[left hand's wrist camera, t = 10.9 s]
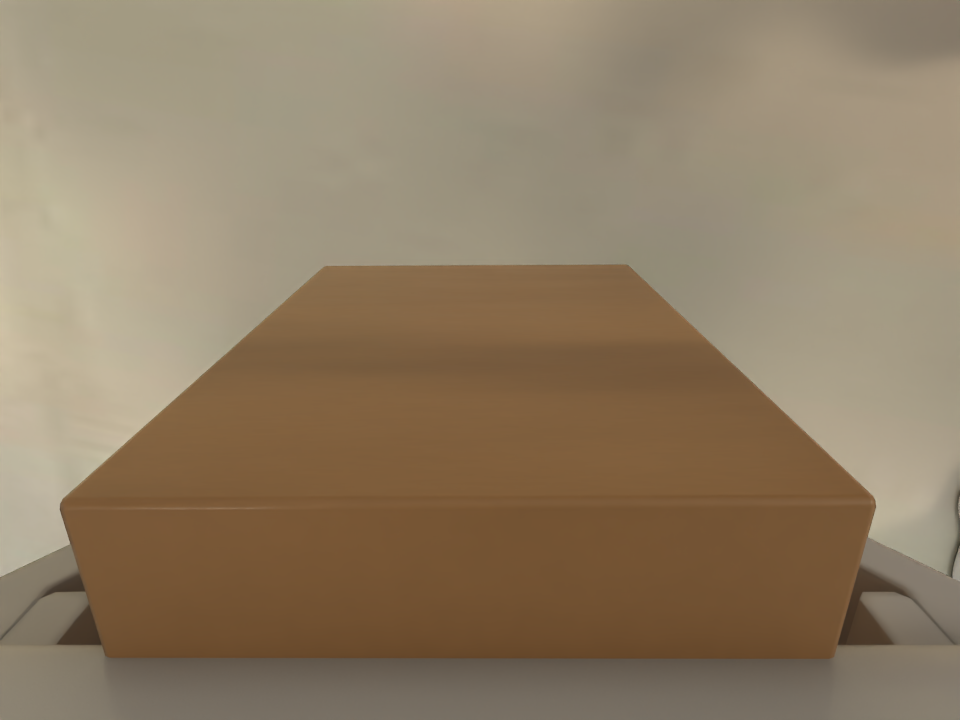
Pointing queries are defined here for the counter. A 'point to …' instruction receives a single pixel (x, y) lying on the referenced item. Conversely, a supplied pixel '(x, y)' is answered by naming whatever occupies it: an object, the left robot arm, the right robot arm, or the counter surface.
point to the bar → (470, 486)
